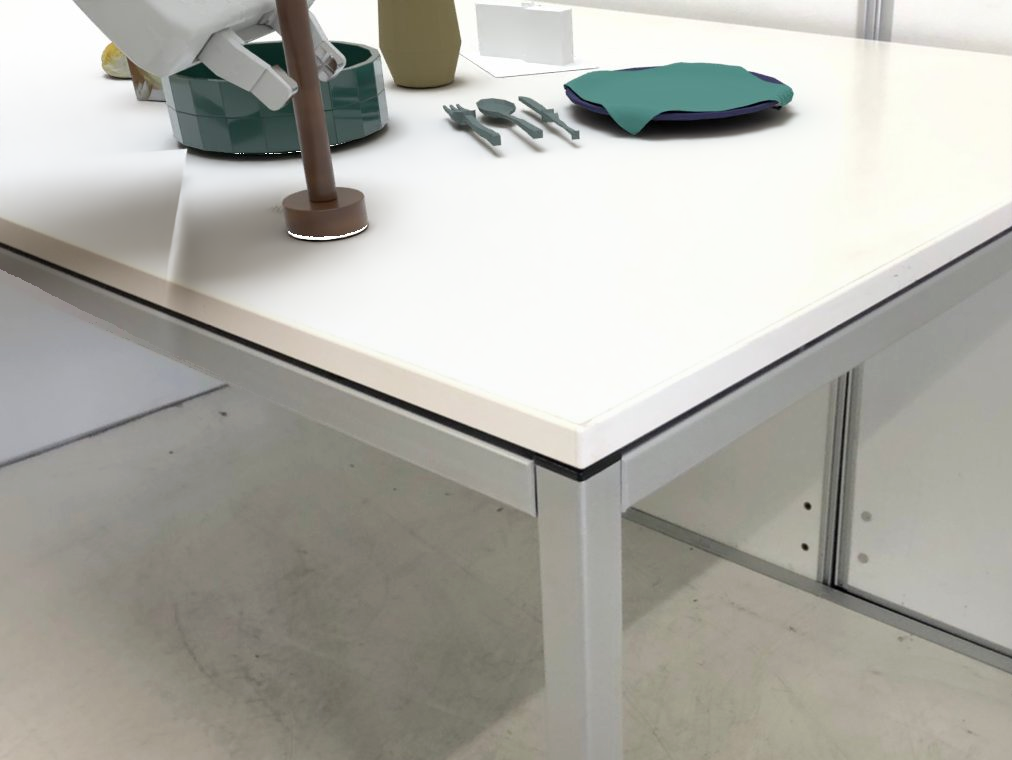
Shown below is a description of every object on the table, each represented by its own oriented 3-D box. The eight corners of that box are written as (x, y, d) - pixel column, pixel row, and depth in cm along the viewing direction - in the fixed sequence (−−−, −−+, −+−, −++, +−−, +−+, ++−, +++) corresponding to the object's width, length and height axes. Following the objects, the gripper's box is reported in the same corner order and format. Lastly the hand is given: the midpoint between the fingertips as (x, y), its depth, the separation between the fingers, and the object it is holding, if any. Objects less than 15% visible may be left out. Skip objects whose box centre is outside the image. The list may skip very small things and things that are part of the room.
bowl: (171, 169, 85) (152, 88, 82) (181, 118, 100) (166, 47, 97) (399, 149, 90) (389, 71, 87) (378, 102, 104) (369, 34, 101)
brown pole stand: (288, 245, 70) (237, -32, 62) (286, 220, 75) (238, -42, 66) (372, 236, 72) (333, -36, 63) (364, 212, 76) (327, -46, 68)
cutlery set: (829, 122, 95) (832, 94, 94) (493, 163, 86) (490, 132, 84) (725, 78, 111) (726, 54, 110) (431, 108, 101) (428, 82, 100)
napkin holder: (456, 52, 125) (451, -3, 122) (551, 44, 128) (549, -10, 125) (496, 77, 113) (492, 17, 110) (600, 67, 117) (598, 8, 114)
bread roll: (199, 61, 122) (191, 22, 120) (174, 78, 114) (165, 37, 112) (123, 63, 122) (114, 24, 120) (92, 80, 114) (82, 39, 112)
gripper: (43, -127, 54) (271, 85, 58) (230, -144, 71) (396, 20, 75) (-12, -27, 57) (209, 168, 61) (181, -67, 74) (343, 87, 78)
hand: (314, 86), depth 68 cm, fingers open, 6 cm apart
